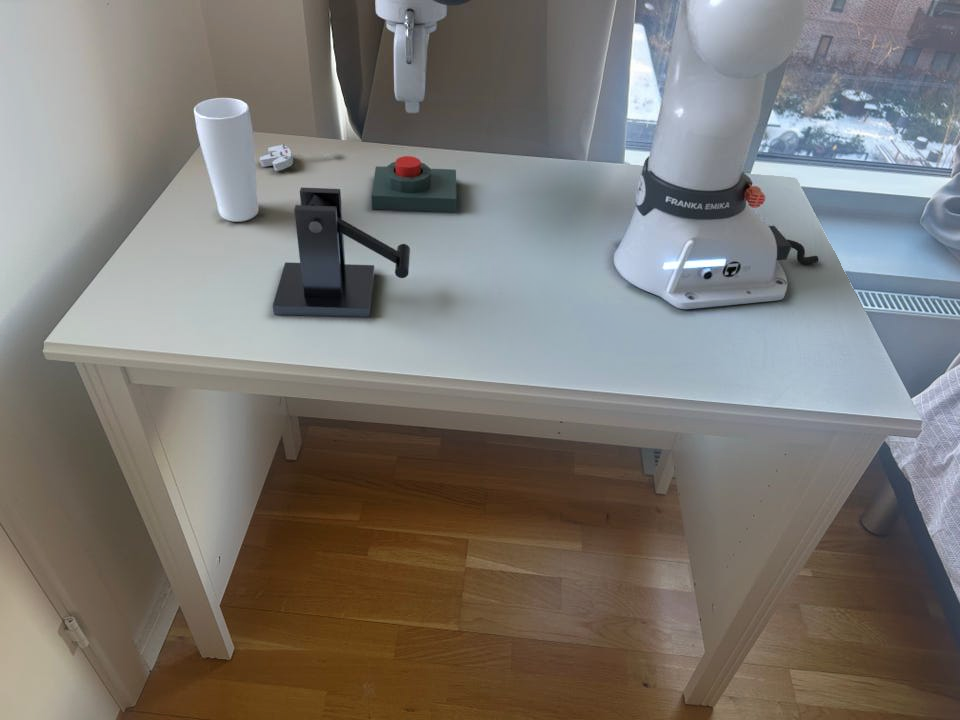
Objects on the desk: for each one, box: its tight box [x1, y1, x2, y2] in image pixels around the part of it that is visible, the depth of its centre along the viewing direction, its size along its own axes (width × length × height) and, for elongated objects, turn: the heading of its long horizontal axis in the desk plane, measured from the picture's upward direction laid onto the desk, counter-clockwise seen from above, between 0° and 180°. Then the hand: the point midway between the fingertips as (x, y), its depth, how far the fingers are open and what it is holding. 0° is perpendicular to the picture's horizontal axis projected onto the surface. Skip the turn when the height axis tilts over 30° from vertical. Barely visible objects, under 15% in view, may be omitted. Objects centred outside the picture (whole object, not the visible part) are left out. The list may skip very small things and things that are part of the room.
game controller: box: [259, 143, 338, 172], centre depth 115 cm, size 6×12×3 cm, turn 129°
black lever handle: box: [307, 195, 411, 279], centre depth 85 cm, size 13×5×2 cm
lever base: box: [272, 186, 375, 318], centre depth 86 cm, size 11×9×13 cm
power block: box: [370, 161, 458, 213], centre depth 108 cm, size 12×9×4 cm
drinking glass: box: [193, 97, 260, 223], centre depth 98 cm, size 7×7×15 cm
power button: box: [395, 155, 422, 177], centre depth 106 cm, size 4×4×2 cm
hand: (412, 108), depth 100 cm, fingers closed
